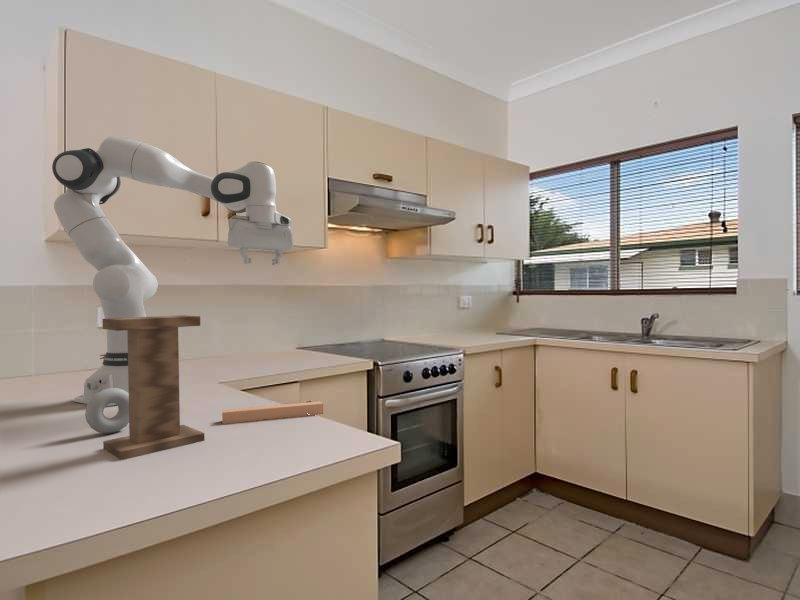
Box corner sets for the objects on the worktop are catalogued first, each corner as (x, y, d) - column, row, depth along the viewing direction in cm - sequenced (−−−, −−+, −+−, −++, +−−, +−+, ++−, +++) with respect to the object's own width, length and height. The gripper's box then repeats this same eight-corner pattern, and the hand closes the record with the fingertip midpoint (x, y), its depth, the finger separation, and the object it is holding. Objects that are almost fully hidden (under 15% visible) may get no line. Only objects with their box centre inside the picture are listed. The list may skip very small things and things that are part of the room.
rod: (320, 412, 128) (320, 401, 128) (323, 415, 125) (323, 403, 125) (222, 422, 119) (222, 409, 119) (222, 425, 116) (222, 412, 116)
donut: (131, 426, 115) (131, 383, 114) (138, 429, 112) (137, 385, 112) (83, 436, 107) (82, 390, 107) (89, 439, 105) (88, 392, 105)
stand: (183, 431, 110) (181, 315, 110) (204, 440, 103) (202, 316, 103) (103, 448, 99) (100, 318, 98) (121, 459, 92) (118, 320, 91)
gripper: (234, 212, 137) (235, 263, 137) (295, 220, 152) (296, 265, 152) (223, 215, 141) (223, 264, 141) (284, 222, 156) (284, 266, 156)
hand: (261, 264), depth 147 cm, fingers open, 8 cm apart
